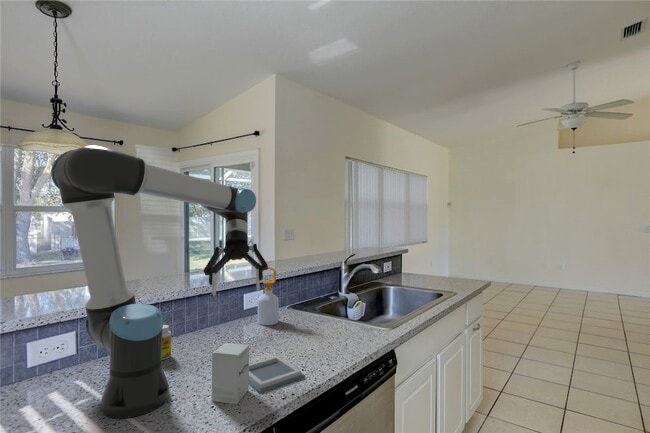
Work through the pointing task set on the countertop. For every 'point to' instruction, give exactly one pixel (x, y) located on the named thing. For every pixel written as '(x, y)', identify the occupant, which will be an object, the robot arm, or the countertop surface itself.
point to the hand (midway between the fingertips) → (236, 291)
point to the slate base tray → (272, 374)
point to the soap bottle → (268, 304)
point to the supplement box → (230, 373)
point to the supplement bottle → (166, 342)
